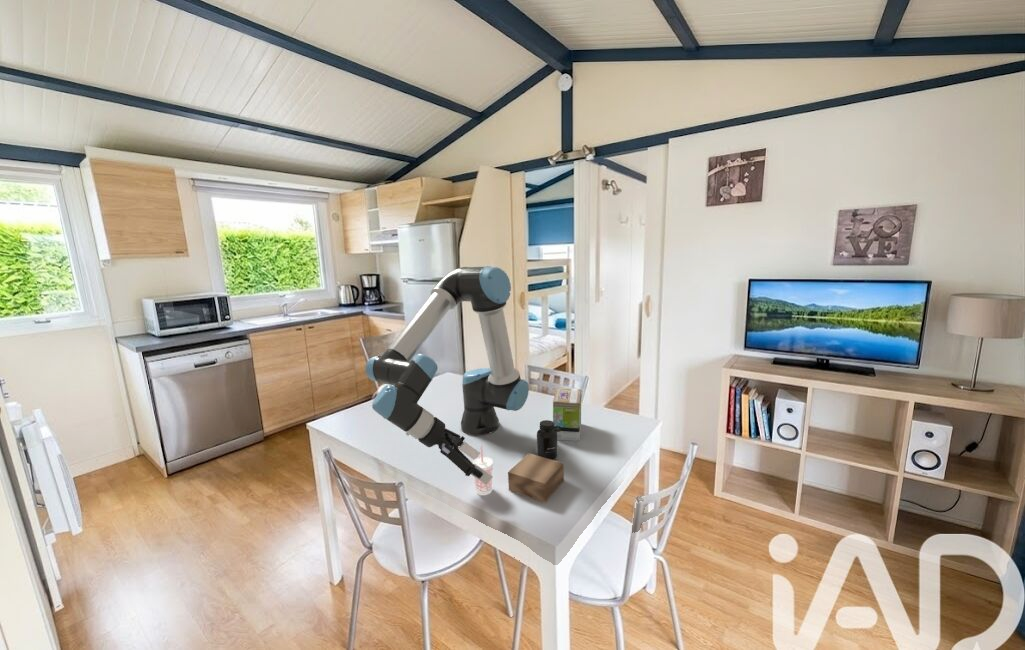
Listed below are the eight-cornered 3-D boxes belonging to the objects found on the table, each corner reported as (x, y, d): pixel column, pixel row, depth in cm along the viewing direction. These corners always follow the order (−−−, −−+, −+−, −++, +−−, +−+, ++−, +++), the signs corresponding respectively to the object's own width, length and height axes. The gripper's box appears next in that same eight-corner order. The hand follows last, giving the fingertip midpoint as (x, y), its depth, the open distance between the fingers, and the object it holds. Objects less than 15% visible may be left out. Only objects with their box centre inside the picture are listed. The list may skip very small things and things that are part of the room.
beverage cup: (488, 498, 111) (486, 453, 108) (469, 494, 113) (466, 449, 110) (498, 486, 116) (495, 443, 113) (479, 482, 119) (477, 439, 116)
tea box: (580, 441, 141) (580, 402, 138) (552, 439, 143) (551, 401, 141) (581, 423, 156) (581, 388, 153) (556, 422, 158) (555, 387, 155)
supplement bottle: (552, 463, 127) (551, 429, 125) (533, 458, 131) (532, 425, 129) (561, 454, 133) (560, 421, 131) (543, 449, 137) (542, 417, 134)
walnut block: (508, 490, 115) (508, 472, 113) (529, 470, 124) (528, 453, 123) (545, 503, 108) (544, 483, 107) (563, 481, 118) (563, 463, 117)
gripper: (412, 420, 117) (465, 456, 124) (421, 461, 93) (485, 503, 101) (429, 400, 117) (480, 438, 125) (442, 437, 94) (504, 480, 102)
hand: (483, 467), depth 113 cm, fingers open, 13 cm apart
